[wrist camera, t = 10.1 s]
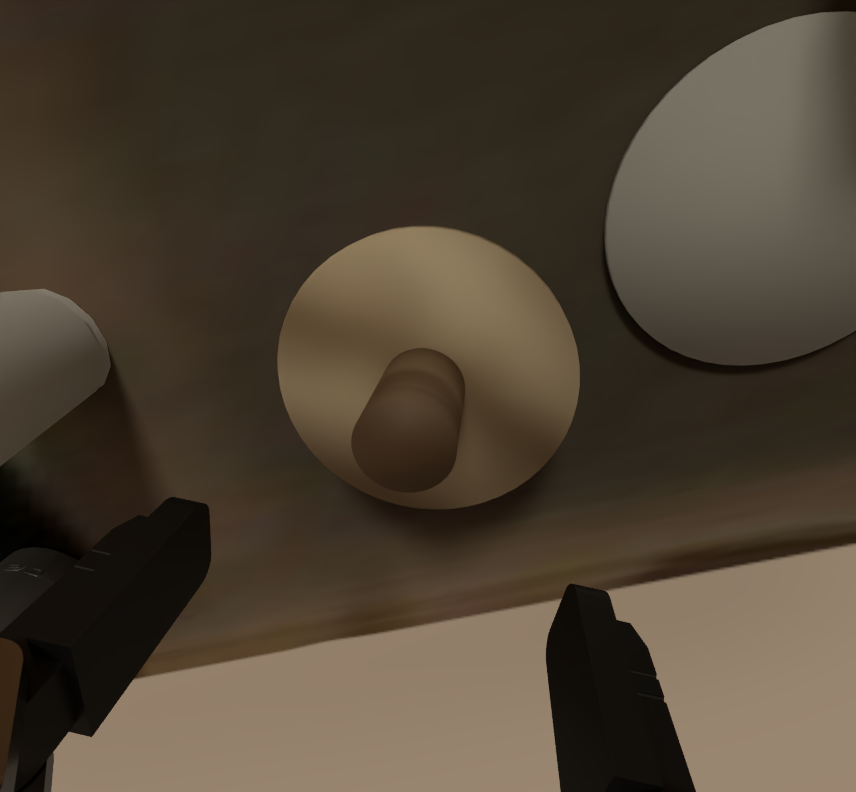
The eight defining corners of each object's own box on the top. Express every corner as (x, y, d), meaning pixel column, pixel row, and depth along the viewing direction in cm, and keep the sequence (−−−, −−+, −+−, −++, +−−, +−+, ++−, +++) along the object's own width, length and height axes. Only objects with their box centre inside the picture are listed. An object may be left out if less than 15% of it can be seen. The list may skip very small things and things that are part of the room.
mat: (808, 398, 23) (816, 404, 22) (553, 304, 22) (555, 308, 22) (1052, 92, 17) (1070, 89, 16) (714, -41, 17) (722, -49, 16)
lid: (505, 528, 22) (509, 632, 17) (265, 443, 22) (197, 524, 17) (633, 292, 17) (691, 342, 12) (321, 176, 16) (248, 178, 12)
